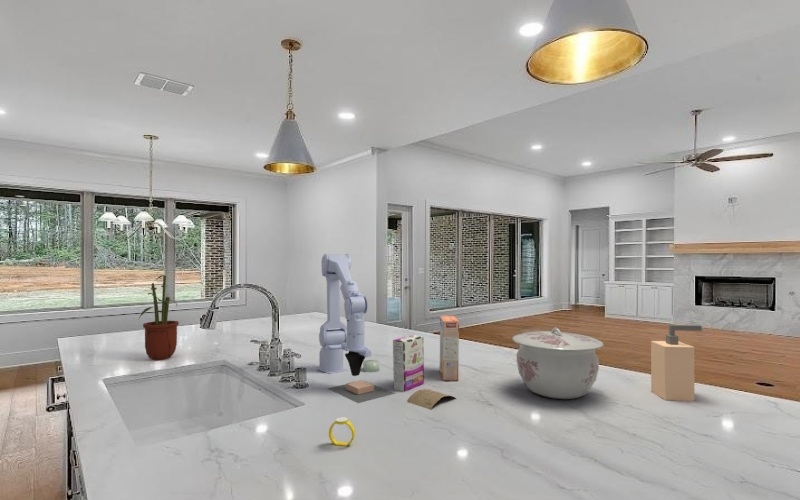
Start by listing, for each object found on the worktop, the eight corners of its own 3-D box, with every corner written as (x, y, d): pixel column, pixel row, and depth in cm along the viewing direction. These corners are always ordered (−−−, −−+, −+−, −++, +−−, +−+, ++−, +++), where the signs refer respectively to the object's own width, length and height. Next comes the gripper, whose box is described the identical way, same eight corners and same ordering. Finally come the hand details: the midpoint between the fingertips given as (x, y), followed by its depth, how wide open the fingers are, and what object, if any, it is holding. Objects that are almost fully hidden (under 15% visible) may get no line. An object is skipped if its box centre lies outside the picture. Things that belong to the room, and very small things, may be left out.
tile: (346, 383, 140) (358, 388, 135) (361, 380, 144) (373, 385, 139) (346, 389, 140) (358, 395, 135) (361, 385, 144) (373, 391, 139)
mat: (327, 389, 142) (327, 388, 142) (362, 381, 151) (362, 380, 151) (358, 404, 128) (358, 403, 128) (395, 394, 137) (395, 393, 137)
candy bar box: (412, 381, 150) (412, 334, 150) (424, 384, 147) (424, 335, 147) (392, 389, 141) (392, 339, 141) (404, 392, 138) (404, 341, 138)
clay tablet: (430, 412, 123) (430, 403, 123) (402, 404, 129) (403, 395, 129) (458, 399, 133) (458, 391, 133) (432, 392, 140) (432, 384, 140)
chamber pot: (575, 415, 119) (574, 339, 119) (494, 390, 140) (494, 326, 141) (621, 394, 137) (620, 328, 137) (543, 375, 158) (543, 318, 158)
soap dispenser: (665, 400, 131) (664, 327, 131) (650, 391, 140) (650, 322, 140) (709, 401, 130) (709, 327, 130) (692, 392, 139) (692, 323, 139)
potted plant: (185, 357, 185) (185, 274, 185) (147, 365, 172) (147, 276, 172) (162, 352, 194) (162, 273, 194) (124, 359, 181) (125, 275, 181)
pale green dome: (360, 370, 164) (360, 361, 164) (373, 368, 168) (373, 359, 168) (369, 374, 160) (369, 364, 160) (382, 371, 163) (382, 362, 163)
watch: (328, 447, 100) (326, 421, 100) (332, 442, 103) (330, 416, 103) (353, 447, 99) (351, 421, 99) (356, 442, 102) (355, 416, 102)
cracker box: (459, 381, 150) (459, 320, 151) (442, 381, 151) (442, 320, 151) (455, 370, 164) (455, 315, 165) (439, 370, 165) (439, 315, 165)
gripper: (333, 331, 145) (333, 372, 145) (357, 338, 133) (357, 382, 133) (351, 329, 149) (351, 368, 149) (376, 335, 138) (376, 378, 138)
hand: (355, 375), depth 142 cm, fingers closed
